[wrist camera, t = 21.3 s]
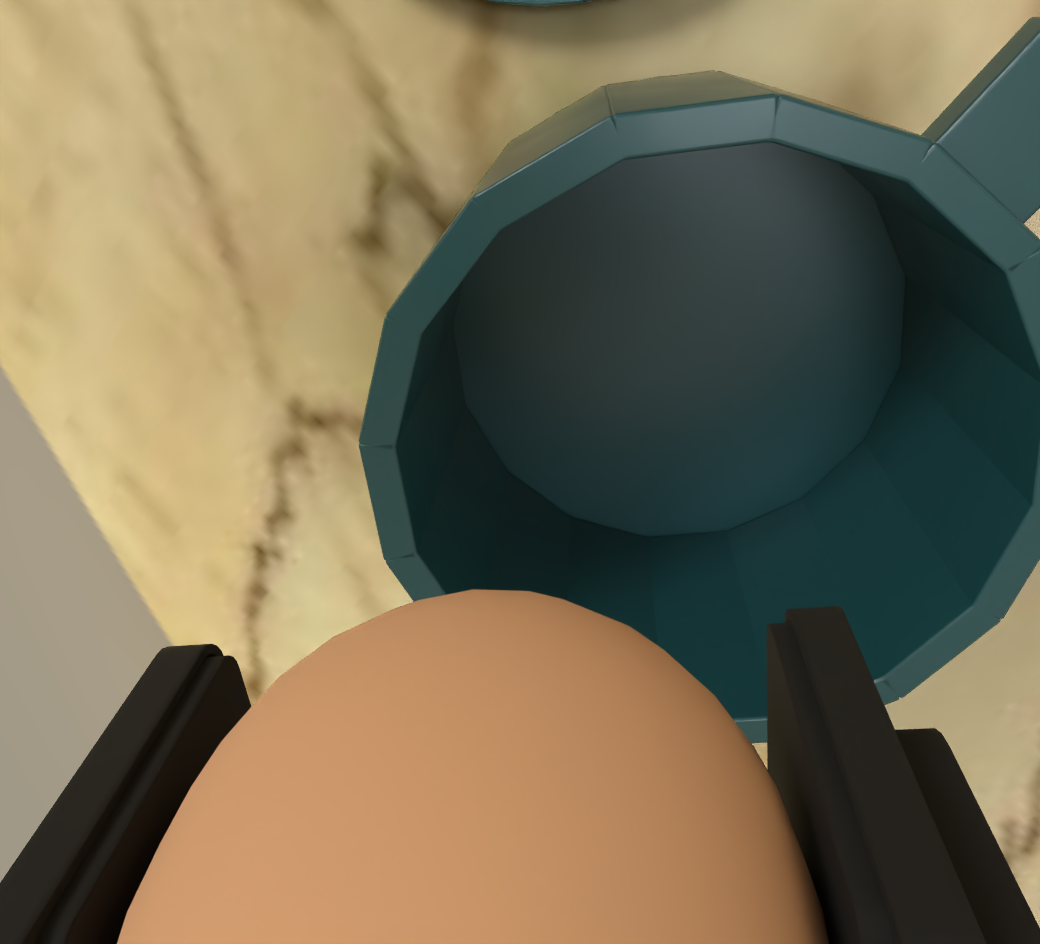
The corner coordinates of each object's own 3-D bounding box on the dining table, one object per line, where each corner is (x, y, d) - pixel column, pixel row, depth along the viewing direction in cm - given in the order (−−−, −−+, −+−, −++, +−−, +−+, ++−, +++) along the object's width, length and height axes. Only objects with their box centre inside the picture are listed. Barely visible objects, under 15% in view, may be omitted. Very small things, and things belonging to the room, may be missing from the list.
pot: (297, 432, 30) (181, 594, 21) (724, -154, 22) (808, -264, 14) (639, 669, 33) (656, 892, 25) (1115, 226, 26) (1379, 328, 17)
